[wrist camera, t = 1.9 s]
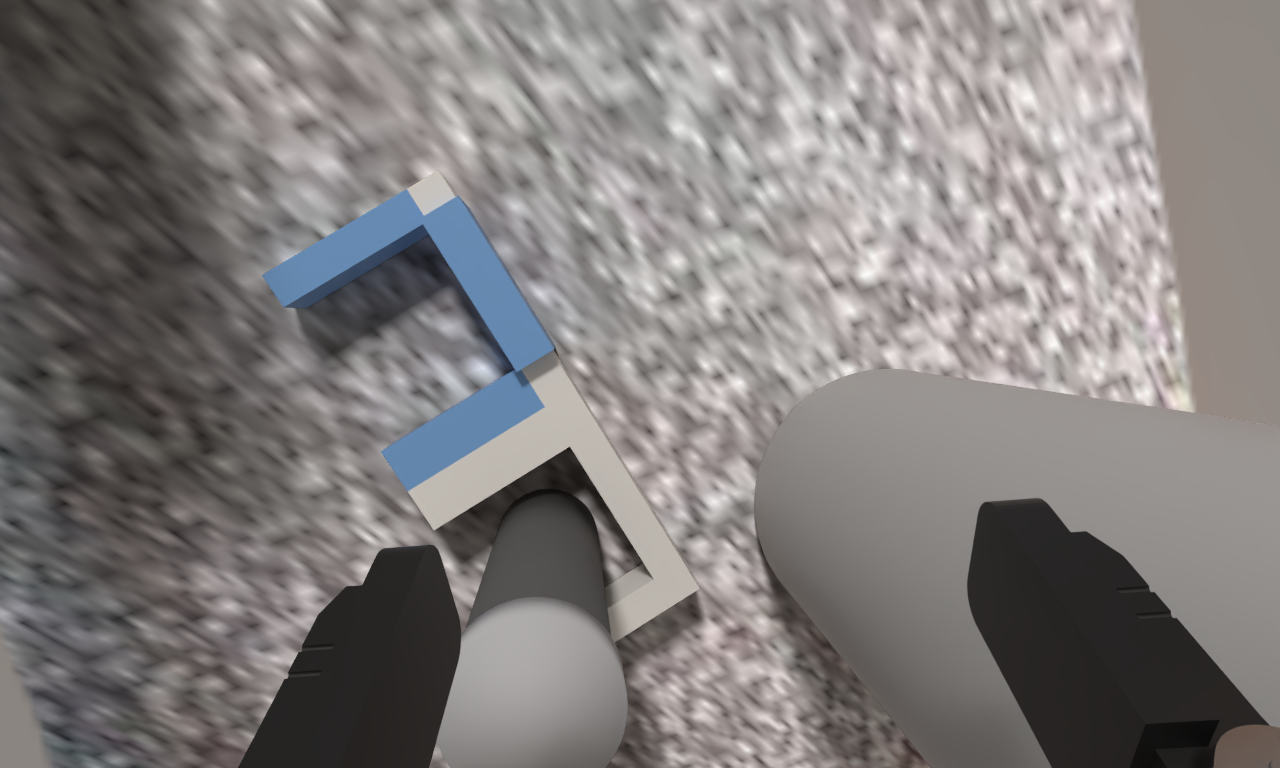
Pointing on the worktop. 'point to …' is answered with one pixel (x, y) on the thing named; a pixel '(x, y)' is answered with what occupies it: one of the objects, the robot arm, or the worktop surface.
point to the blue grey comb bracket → (494, 392)
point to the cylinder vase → (946, 520)
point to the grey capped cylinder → (538, 649)
